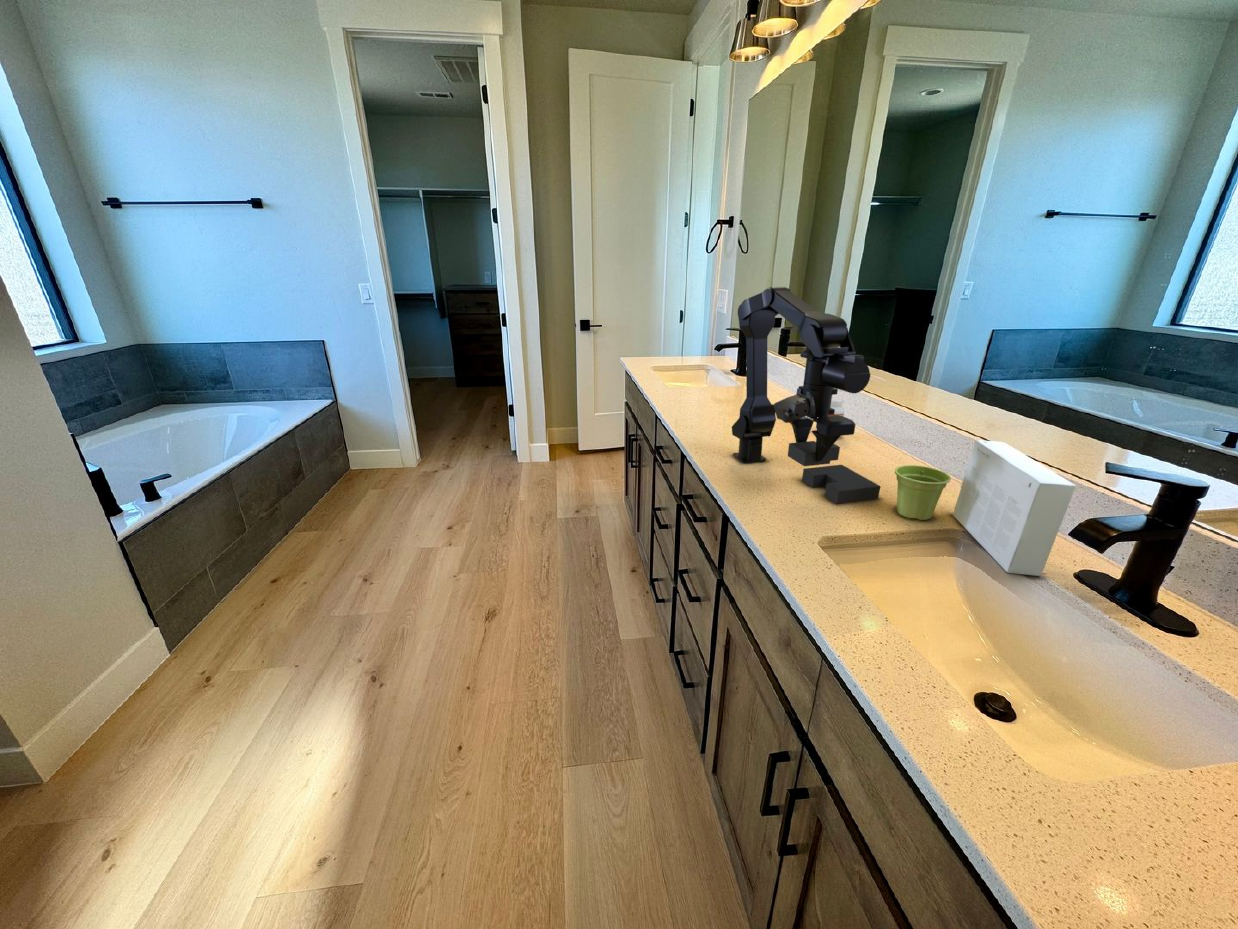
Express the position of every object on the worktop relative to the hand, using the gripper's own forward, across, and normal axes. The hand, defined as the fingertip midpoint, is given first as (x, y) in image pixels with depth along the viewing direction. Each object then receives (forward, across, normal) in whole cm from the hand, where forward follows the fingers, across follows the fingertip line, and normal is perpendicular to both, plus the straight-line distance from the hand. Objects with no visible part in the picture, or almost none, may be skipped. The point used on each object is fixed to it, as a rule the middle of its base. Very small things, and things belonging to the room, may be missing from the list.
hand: (808, 455), depth 105 cm
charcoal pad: (+9, 0, +8) cm, 12 cm away
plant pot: (+9, +14, +15) cm, 23 cm away
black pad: (+1, 0, +1) cm, 2 cm away
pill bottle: (+9, -34, +29) cm, 46 cm away
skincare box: (+9, +27, +20) cm, 35 cm away
